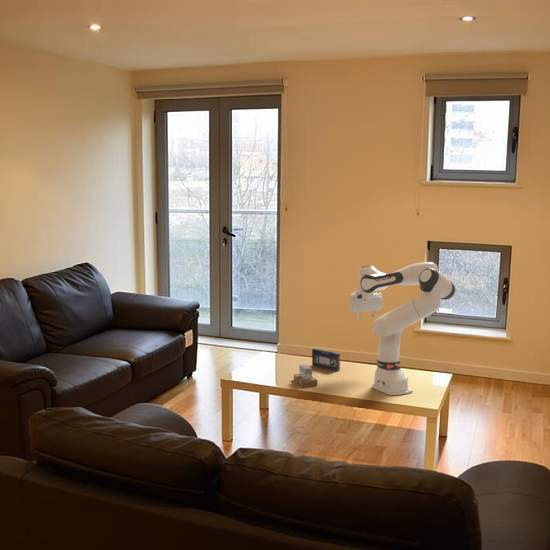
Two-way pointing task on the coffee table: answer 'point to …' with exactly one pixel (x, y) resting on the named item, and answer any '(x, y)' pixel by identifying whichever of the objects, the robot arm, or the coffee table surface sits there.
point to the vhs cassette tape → (326, 359)
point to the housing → (305, 372)
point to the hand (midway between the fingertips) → (366, 318)
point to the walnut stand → (305, 381)
